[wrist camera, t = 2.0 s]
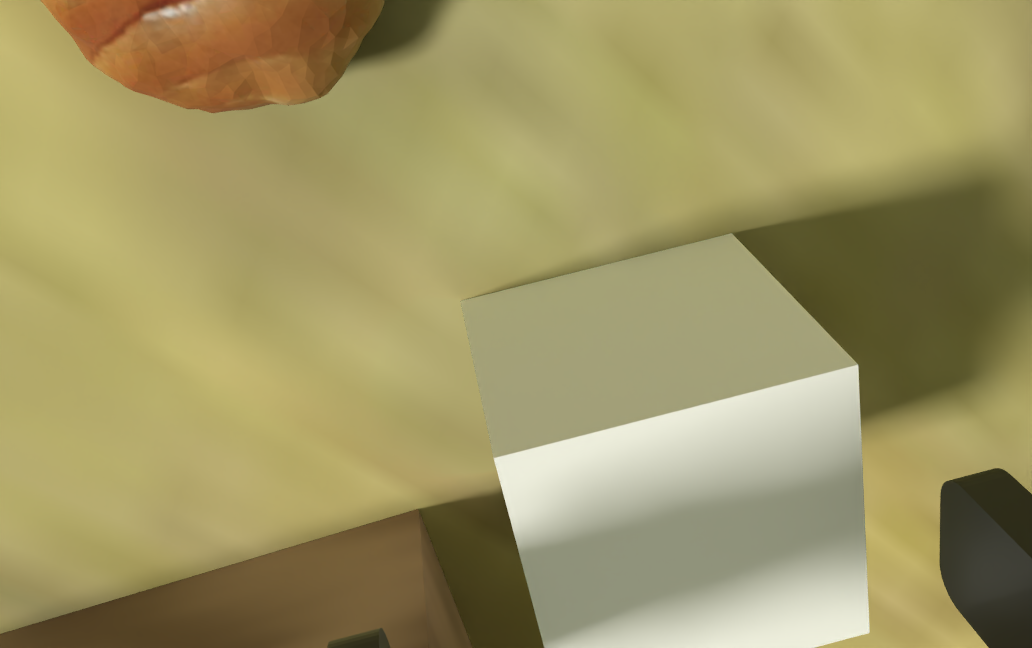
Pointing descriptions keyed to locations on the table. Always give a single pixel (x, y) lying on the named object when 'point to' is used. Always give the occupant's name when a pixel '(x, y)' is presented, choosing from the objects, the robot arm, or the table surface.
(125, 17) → the pastry
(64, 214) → the table surface
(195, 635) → the walnut box
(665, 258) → the cube
